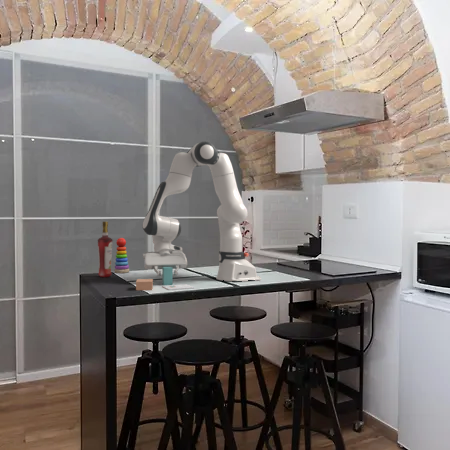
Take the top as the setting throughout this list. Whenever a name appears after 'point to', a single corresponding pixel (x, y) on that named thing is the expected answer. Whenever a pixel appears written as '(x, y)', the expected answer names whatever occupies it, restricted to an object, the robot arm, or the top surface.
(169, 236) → the robot arm
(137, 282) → the base brick
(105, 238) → the liquor
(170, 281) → the teal brick
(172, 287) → the plate
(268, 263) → the top surface
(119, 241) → the stacking toy
